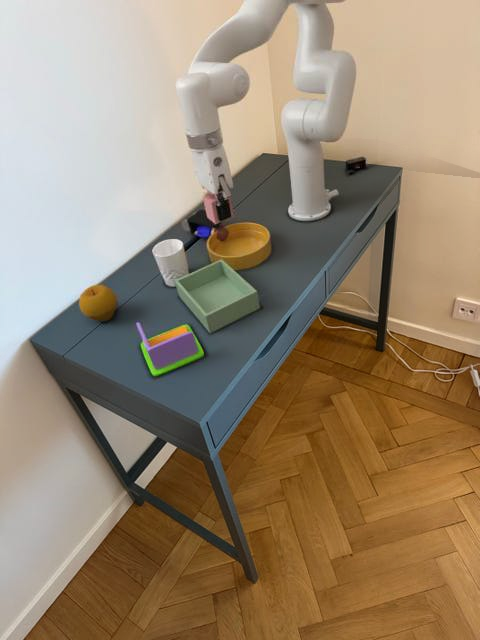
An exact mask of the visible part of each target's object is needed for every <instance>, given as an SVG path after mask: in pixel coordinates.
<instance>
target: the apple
mask: <svg viewBox="0 0 480 640" xmlns="http://www.w3.org/2000/svg"><path fill="white" fill-rule="evenodd" d="M78 306H79V310H80V312H82V314H83V315H84V316H85V317H87V318H89V319H91V320H93V321H95V322H96V321H97V322H107V321H110V320H111V319H113V316H114V314H115V312H116V309H117V306H118V297H117V295H116V294H115V292H114V291H113V289H111V288H110V287H108V286H106V285H104V284H95V285H91V286H88V287H87V288H86V289H84V290H83V291H82V292H81V294H80V296H79V299H78Z"/></svg>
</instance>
